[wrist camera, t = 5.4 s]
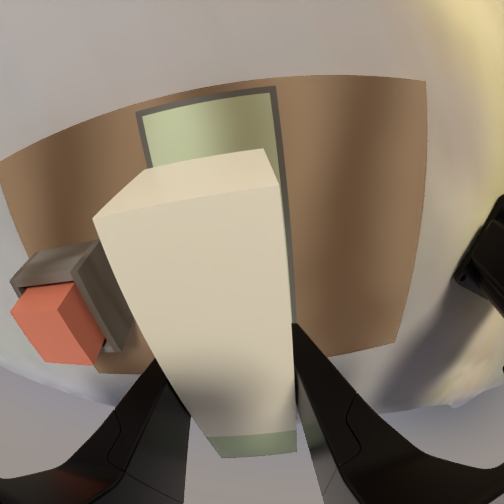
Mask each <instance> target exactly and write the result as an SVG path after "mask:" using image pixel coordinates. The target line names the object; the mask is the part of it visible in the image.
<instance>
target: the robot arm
mask: <svg viewBox="0 0 504 504" xmlns="http://www.w3.org/2000/svg"><path fill="white" fill-rule="evenodd" d="M454 279H455V281H456V282H457V283H458V284H459V285H461V286H463V287H465V288H467V289H469V290H471V291H473V292H474V293H476V294H478V295H480V296H482V297H484V298H486V299H488V300H489V301H490V302H491V303H492V304H493V306H494V307H495V308H496V309H497V311H498V312H499V313H500V314H501V316H502V317H503V318H504V194H503V195H502V196H501V197H500V199H499V201H498V203H497V205H496V207H495V209H494V211H493V213H492V215H491V216H490V218H489V220H488V222H487V224H486V225H485V227H484V229H483V231H482V232H481V234H480V236H479V237H478V239H477V241H476V242H475V244H474V246H473V247H472V249H471V251H470V252H469V254H468V255H467V257H466V258H465V260H464V261H463V263H462V264H461V266H460V267H459V269H458V270H457V272H456V274H455V276H454ZM291 328H292V344H293V361H294V381H295V401H296V405H297V408H298V412H299V415H300V419H301V422H302V426H303V429H304V433H305V437H306V440H307V444H308V447H309V451H310V454H311V458H312V461H313V465H314V468H315V472H316V475H317V479H318V483H319V486H320V490H321V494H322V496H323V501H324V504H504V463H502V464H501V465H499V466H498V467H495V468H492V469H480V468H475V467H470V466H466V465H462V464H458V463H455V462H451V461H448V460H444V459H441V458H437V457H434V456H431V455H429V454H426V453H424V452H423V451H421V450H419V449H418V448H417V447H415V446H414V445H413V444H411V443H410V442H409V441H408V440H407V439H405V438H404V437H403V436H402V435H401V434H399V433H398V432H397V431H396V430H395V429H394V428H392V427H391V426H390V425H389V424H387V422H385V421H384V420H383V419H382V418H381V417H380V416H379V415H378V414H377V413H376V412H375V411H374V410H373V409H372V408H371V407H370V406H369V405H368V404H367V403H366V402H365V401H364V400H363V398H362V397H361V396H360V395H359V394H358V393H356V391H355V389H354V388H353V387H352V386H351V385H350V384H349V383H348V381H347V380H346V379H345V378H344V377H343V376H342V374H341V373H340V372H339V371H338V370H337V369H336V368H335V366H334V365H333V364H332V363H331V362H330V361H329V359H328V358H327V357H326V356H325V355H324V354H323V352H322V351H321V350H320V349H319V348H318V347H317V345H316V344H315V343H314V342H313V341H312V340H311V338H310V337H309V336H308V335H307V334H306V333H305V331H304V330H303V329H302V328H301V327H300V326H299V324H297V323H291ZM503 372H504V366H503ZM190 419H191V415H190V413H189V412H188V410H187V409H186V407H185V406H184V404H183V403H182V401H181V399H180V398H179V396H178V395H177V393H176V392H175V390H174V388H173V387H172V385H171V383H170V382H169V380H168V378H167V377H166V375H165V373H164V372H163V370H162V368H161V367H160V365H159V363H158V361H157V360H156V358H154V360H153V361H152V362H151V363H150V365H149V366H148V367H147V368H146V370H145V371H144V372H143V373H142V375H141V376H140V377H139V378H138V380H137V381H136V382H135V383H134V385H133V386H132V387H131V389H130V390H129V391H128V392H127V394H126V395H125V396H124V397H123V399H122V400H121V401H120V402H119V404H118V405H117V406H116V408H115V410H113V411H112V413H111V414H110V415H109V416H108V418H107V419H106V420H105V421H104V423H103V424H102V425H101V426H100V427H99V428H98V430H97V431H96V432H95V433H94V434H93V435H92V436H91V437H90V438H89V439H88V440H87V441H86V442H85V443H84V444H83V445H82V446H81V447H80V448H79V449H78V450H77V451H76V452H75V453H74V454H73V456H71V457H70V458H69V459H68V460H67V461H66V462H65V463H63V464H62V465H60V466H59V467H56V468H54V469H51V470H47V471H43V472H39V473H35V474H30V475H26V476H22V477H17V478H11V479H2V478H0V504H183V503H184V489H185V476H186V463H187V450H188V440H189V429H190Z"/></svg>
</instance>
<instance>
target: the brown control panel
mask: <svg viewBox="0 0 504 504" xmlns="http://www.w3.org/2000/svg"><path fill="white" fill-rule="evenodd" d="M262 148H263V149H264V151H265V153H266V155H267V158H268V160H269V162H270V165H271V167H272V169H273V172H274V174H275V176H276V179H277V181H278V183H279V187H280V196H281V206H282V216H283V227H284V238H285V249H286V260H287V272H288V285H289V298H290V313H291V323H297V324H299V326H300V327H301V328H302V329H303V330H304V331H305V333H306V334H307V335H308V336H309V337H310V338H311V340H312V341H313V342H314V343H315V344H316V345H317V347H318V348H319V349H320V350H321V351H322V352H323V354H324V355H325V356H326V357H332V356H337V355H342V354H347V353H352V352H356V351H361V350H365V349H370V348H374V347H378V346H382V345H386V344H390V343H394V342H395V340H396V337H397V334H398V330H399V327H400V323H401V320H402V316H403V312H404V308H405V304H406V300H407V296H408V292H409V287H410V283H411V278H412V273H413V268H414V263H415V258H416V252H417V246H418V240H419V234H420V227H421V219H422V211H423V202H424V192H425V180H426V163H427V97H426V81H418V80H410V79H401V78H391V77H377V76H356V75H314V76H293V77H279V78H268V79H258V80H250V81H242V82H235V83H228V84H222V85H216V86H210V87H205V88H199V89H194V90H190V91H185V92H180V93H176V94H172V95H168V96H164V97H160V98H156V99H152V100H148V101H145V102H141V103H138V104H134V105H131V106H128V107H125V108H121V109H118V110H115V111H112V112H109V113H106V114H103V115H101V116H98V117H95V118H92V119H90V120H87V121H84V122H82V123H79V124H77V125H74V126H72V127H69V128H67V129H65V130H62V131H60V132H58V133H55V134H53V135H51V136H49V137H47V138H45V139H42V140H40V141H38V142H36V143H34V144H32V145H30V146H28V147H26V148H24V149H22V150H20V151H18V152H17V153H15V154H13V155H11V156H9V157H7V158H6V159H4V160H2V161H0V184H1V187H2V190H3V193H4V196H5V199H6V202H7V205H8V208H9V211H10V214H11V216H12V219H13V221H14V224H15V227H16V229H17V232H18V234H19V236H20V239H21V241H22V243H23V246H24V248H25V250H26V252H27V255H28V257H29V260H28V261H27V262H26V263H25V264H24V265H23V266H22V267H21V268H20V269H19V271H18V272H17V273H16V274H15V275H14V276H13V277H12V279H11V280H10V283H11V285H12V287H13V289H14V291H15V292H16V294H17V296H18V298H19V299H20V297H21V296H22V295H23V293H24V292H25V291H26V290H27V288H28V287H29V286H34V285H42V284H50V283H58V282H66V281H74V282H75V284H76V286H77V288H78V290H79V292H80V294H81V295H82V297H83V299H84V301H85V303H86V305H87V307H88V308H89V310H90V312H91V314H92V316H93V317H94V319H95V321H96V323H97V324H98V326H99V328H100V329H101V331H102V333H103V334H104V336H105V339H104V342H103V344H102V347H101V349H100V352H99V354H98V357H97V359H96V362H95V364H94V365H93V366H94V367H95V368H96V370H97V371H98V372H99V373H109V374H142V373H143V372H144V371H145V370H146V368H147V367H148V366H149V365H150V363H151V362H152V361H153V360H154V358H155V356H154V354H153V353H152V351H151V349H150V347H149V345H148V343H147V342H146V340H145V338H144V336H143V334H142V332H141V330H140V328H139V326H138V324H137V322H136V320H135V318H134V316H133V314H132V312H131V310H130V308H129V306H128V304H127V302H126V300H125V298H124V295H123V293H122V291H121V289H120V287H119V284H118V282H117V280H116V278H115V275H114V273H113V271H112V268H111V266H110V264H109V261H108V259H107V256H106V254H105V251H104V249H103V246H102V244H101V241H100V238H99V236H98V233H97V230H96V228H95V225H94V222H93V219H92V218H93V217H94V216H95V215H96V214H97V213H98V212H99V211H100V210H101V209H102V208H103V207H104V206H105V205H106V204H107V203H108V202H109V201H110V200H111V199H112V198H113V197H114V196H116V195H117V194H118V193H119V192H120V191H121V190H122V189H123V188H124V187H125V186H126V185H127V184H129V183H130V182H131V181H132V180H133V179H134V178H135V177H136V176H138V175H139V174H140V173H141V172H142V171H143V170H145V169H149V168H154V167H158V166H163V165H167V164H172V163H177V162H182V161H187V160H192V159H197V158H203V157H209V156H214V155H221V154H227V153H233V152H240V151H247V150H254V149H262Z"/></svg>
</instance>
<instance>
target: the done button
mask: <svg viewBox="0 0 504 504" xmlns="http://www.w3.org/2000/svg"><path fill="white" fill-rule="evenodd" d="M10 313H11V314H12V316H13V317H14V319H15V320H16V322H17V324H18V325H19V327H20V328H21V330H22V331H23V332H24V334H25V335H26V337H27V338H28V340H29V341H30V342H31V344H32V345H33V346H34V348H35V349H36V350H37V352H38V353H39V354H40V356H41V357H42V358H43V360H44V361H45V362H51V363H62V364H77V365H94V364H95V362H96V359H97V357H98V354H99V352H100V349H101V347H102V344H103V342H104V339H105V336H104V334H103V333H102V331H101V329H100V328H99V326H98V324H97V323H96V321H95V319H94V317H93V316H92V314H91V312H90V310H89V308H88V307H87V305H86V303H85V301H84V299H83V297H82V295H81V294H80V292H79V290H78V288H77V286H76V284H75V282H74V281H66V282H58V283H50V284H42V285H34V286H29V287H28V288H27V290H26V291H25V292H24V293H23V295H22V296H21V297H20V299H19V300H18V301H17V303H16V304H15V305H14V307H13V308H12V310H11V311H10Z"/></svg>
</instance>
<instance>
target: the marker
mask: <svg viewBox="0 0 504 504" xmlns="http://www.w3.org/2000/svg"><path fill="white" fill-rule="evenodd" d="M92 219H93V222H94V225H95V228H96V230H97V233H98V236H99V238H100V241H101V244H102V246H103V249H104V251H105V254H106V256H107V259H108V261H109V264H110V266H111V268H112V271H113V273H114V275H115V278H116V280H117V282H118V284H119V287H120V289H121V291H122V293H123V295H124V298H125V300H126V302H127V304H128V306H129V308H130V310H131V312H132V314H133V316H134V318H135V320H136V322H137V324H138V326H139V328H140V330H141V332H142V334H143V336H144V338H145V340H146V342H147V343H148V345H149V347H150V349H151V351H152V353H153V354H154V356H155V358H156V360H157V361H158V363H159V365H160V367H161V368H162V370H163V372H164V373H165V375H166V377H167V378H168V380H169V382H170V383H171V385H172V387H173V388H174V390H175V392H176V393H177V395H178V396H179V398H180V399H181V401H182V403H183V404H184V406H185V407H186V409H187V410H188V412H189V413H190V415H191V416H192V418H193V419H194V420H195V422H196V423H197V425H198V426H199V428H200V429H201V431H202V432H203V433H204V435H205V436H206V438H207V439H208V440H209V441H210V443H211V444H212V446H213V447H214V448H215V450H216V451H217V452H218V454H219V455H220V456H221V457H222V458H236V457H253V456H265V455H275V454H284V453H292V452H297V437H296V435H297V434H296V404H295V381H294V361H293V344H292V328H291V313H290V298H289V285H288V272H287V260H286V249H285V238H284V227H283V216H282V206H281V196H280V187H279V183H278V181H277V179H276V176H275V174H274V172H273V169H272V167H271V165H270V162H269V160H268V158H267V155H266V153H265V151H264V149H263V148H262V149H254V150H247V151H240V152H233V153H227V154H221V155H214V156H209V157H203V158H197V159H192V160H187V161H182V162H177V163H172V164H167V165H163V166H158V167H154V168H149V169H145V170H143V171H142V172H141V173H140V174H139V175H138V176H136V177H135V178H134V179H133V180H132V181H131V182H130V183H129V184H127V185H126V186H125V187H124V188H123V189H122V190H121V191H120V192H119V193H118V194H117V195H116V196H114V197H113V198H112V199H111V200H110V201H109V202H108V203H107V204H106V205H105V206H104V207H103V208H102V209H101V210H100V211H99V212H98V213H97V214H96V215H95V216H94V217H93V218H92Z"/></svg>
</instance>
